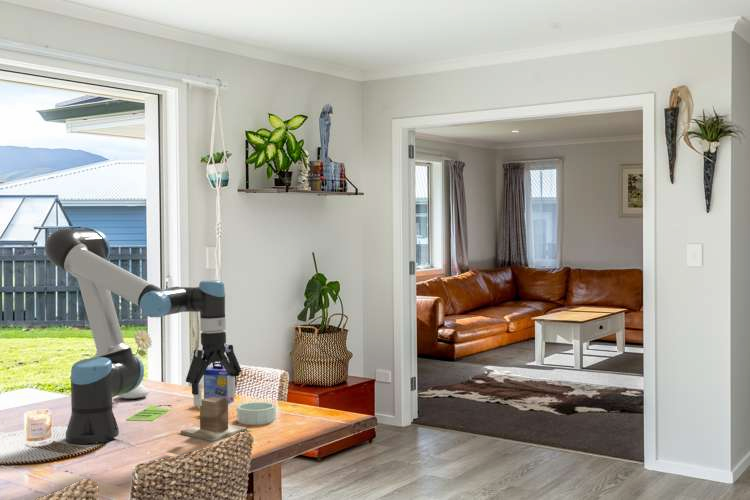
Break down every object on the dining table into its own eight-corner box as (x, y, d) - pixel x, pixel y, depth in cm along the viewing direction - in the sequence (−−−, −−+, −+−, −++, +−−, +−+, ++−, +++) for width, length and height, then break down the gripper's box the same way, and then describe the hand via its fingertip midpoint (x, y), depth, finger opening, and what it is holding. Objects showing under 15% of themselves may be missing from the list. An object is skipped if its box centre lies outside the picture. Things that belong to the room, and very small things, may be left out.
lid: (212, 440, 241) (212, 406, 240) (180, 433, 249) (180, 400, 249) (247, 431, 252) (246, 398, 252) (215, 424, 260) (215, 393, 260)
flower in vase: (125, 402, 297) (124, 333, 296) (111, 397, 305) (110, 330, 304) (158, 397, 306) (157, 330, 305) (144, 392, 314) (143, 327, 313)
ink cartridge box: (202, 403, 295) (202, 362, 295) (208, 399, 301) (208, 360, 300) (229, 404, 294) (228, 363, 293) (234, 400, 299) (234, 361, 299)
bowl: (256, 428, 258) (256, 412, 258) (229, 423, 265) (229, 407, 265) (282, 421, 268) (282, 405, 267) (256, 416, 275) (256, 400, 275)
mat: (212, 444, 239) (212, 442, 239) (176, 436, 249) (176, 433, 249) (251, 433, 252) (251, 430, 252) (216, 425, 262) (216, 423, 262)
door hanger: (152, 422, 269) (180, 405, 293) (152, 420, 269) (180, 404, 293) (125, 421, 270) (155, 404, 295) (125, 419, 270) (155, 403, 295)
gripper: (189, 337, 237) (191, 410, 238) (251, 327, 257) (253, 395, 258) (172, 335, 242) (174, 407, 242) (234, 326, 262) (236, 392, 262)
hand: (215, 401), depth 250 cm, fingers open, 13 cm apart
